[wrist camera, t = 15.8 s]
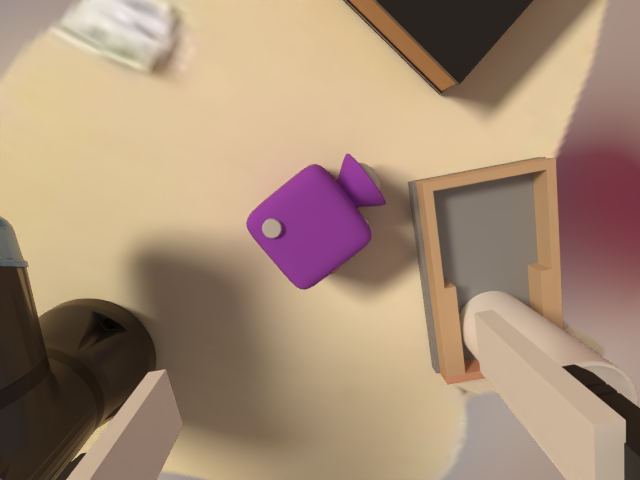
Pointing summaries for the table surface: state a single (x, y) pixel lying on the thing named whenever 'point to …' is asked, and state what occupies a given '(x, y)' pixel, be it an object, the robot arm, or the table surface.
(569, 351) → the cup
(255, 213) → the toy camera
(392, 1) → the book
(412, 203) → the board
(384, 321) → the table surface
